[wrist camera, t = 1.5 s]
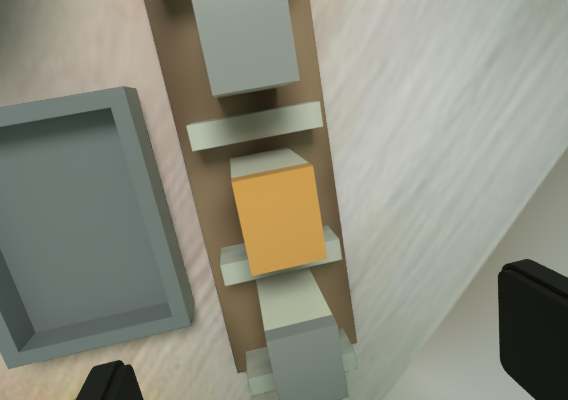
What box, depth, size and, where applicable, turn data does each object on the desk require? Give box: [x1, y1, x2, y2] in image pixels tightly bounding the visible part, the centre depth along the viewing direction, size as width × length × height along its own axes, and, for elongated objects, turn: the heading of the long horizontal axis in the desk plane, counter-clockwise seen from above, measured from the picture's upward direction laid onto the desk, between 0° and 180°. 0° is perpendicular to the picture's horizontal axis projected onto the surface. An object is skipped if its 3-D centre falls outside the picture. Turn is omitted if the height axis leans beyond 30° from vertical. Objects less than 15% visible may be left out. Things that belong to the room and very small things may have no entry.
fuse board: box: [144, 0, 357, 396], centre depth 25 cm, size 10×29×4 cm, turn 10°
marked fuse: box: [230, 147, 327, 276], centre depth 22 cm, size 4×5×8 cm
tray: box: [0, 86, 194, 369], centre depth 24 cm, size 12×16×3 cm
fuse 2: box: [256, 267, 348, 400], centre depth 25 cm, size 4×5×8 cm
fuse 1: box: [192, 0, 300, 98], centre depth 20 cm, size 4×5×8 cm
